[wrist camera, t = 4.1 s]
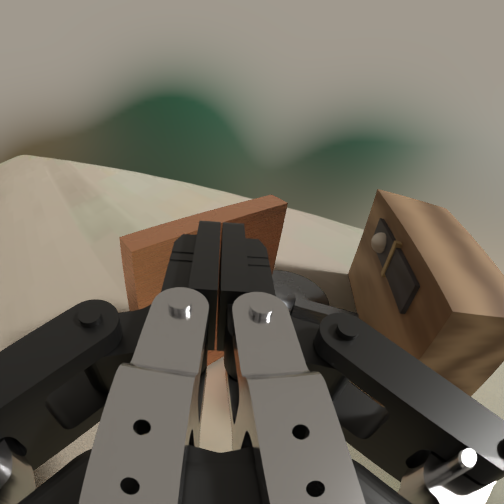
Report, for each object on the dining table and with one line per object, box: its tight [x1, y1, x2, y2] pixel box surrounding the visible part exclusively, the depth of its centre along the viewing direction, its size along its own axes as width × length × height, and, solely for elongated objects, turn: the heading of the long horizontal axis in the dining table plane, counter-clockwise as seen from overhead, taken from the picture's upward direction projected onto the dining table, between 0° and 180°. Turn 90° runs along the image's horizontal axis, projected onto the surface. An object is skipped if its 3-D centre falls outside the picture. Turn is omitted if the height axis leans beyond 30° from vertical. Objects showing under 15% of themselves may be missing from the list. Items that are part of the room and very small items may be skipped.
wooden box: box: [348, 189, 504, 407], centre depth 26 cm, size 12×20×12 cm, turn 174°
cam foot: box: [120, 195, 359, 366], centre depth 23 cm, size 20×14×13 cm
